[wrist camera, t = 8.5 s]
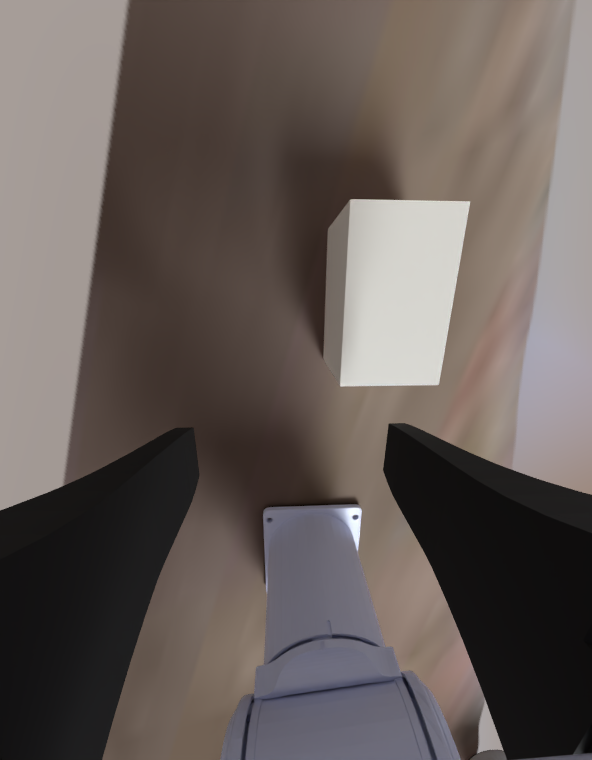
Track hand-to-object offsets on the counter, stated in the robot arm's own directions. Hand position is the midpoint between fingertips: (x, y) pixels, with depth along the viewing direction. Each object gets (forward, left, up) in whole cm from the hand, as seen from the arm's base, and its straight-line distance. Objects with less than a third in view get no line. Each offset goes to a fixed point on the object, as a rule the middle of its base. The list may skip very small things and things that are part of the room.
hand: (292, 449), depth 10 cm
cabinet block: (+5, -5, -10) cm, 12 cm away
